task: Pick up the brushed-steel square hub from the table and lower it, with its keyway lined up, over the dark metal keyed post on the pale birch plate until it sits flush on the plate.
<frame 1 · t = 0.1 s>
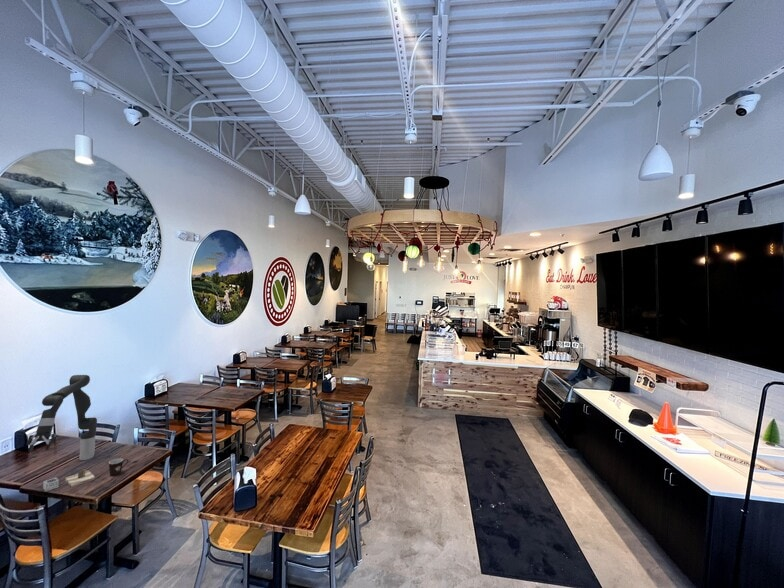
hand: (38, 451, 221), 31 cm above the table, tool tilted 20°, fingers open, 8 cm apart
coffee mug: (118, 473, 252), on the table
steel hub: (50, 487, 231), on the table
post plate: (80, 479, 243), on the table
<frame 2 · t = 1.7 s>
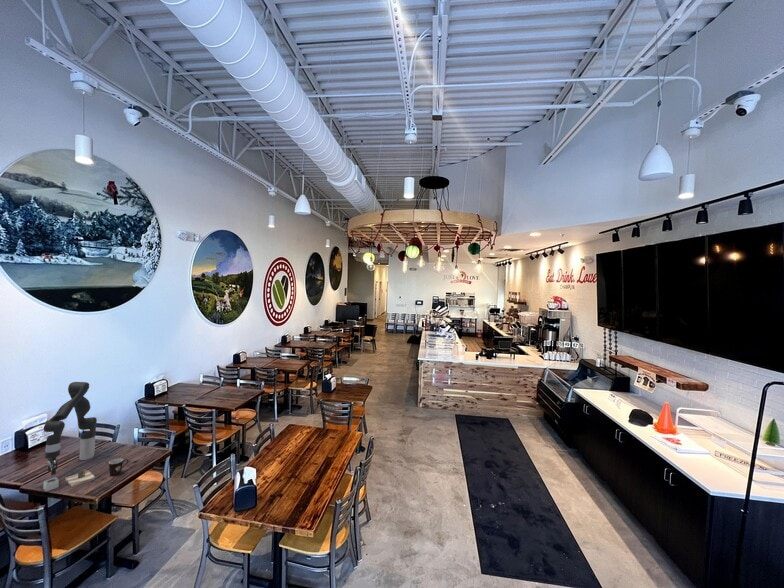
hand: (51, 472, 231), 11 cm above the table, tool pointing down, fingers open, 8 cm apart
nothing on the table moved.
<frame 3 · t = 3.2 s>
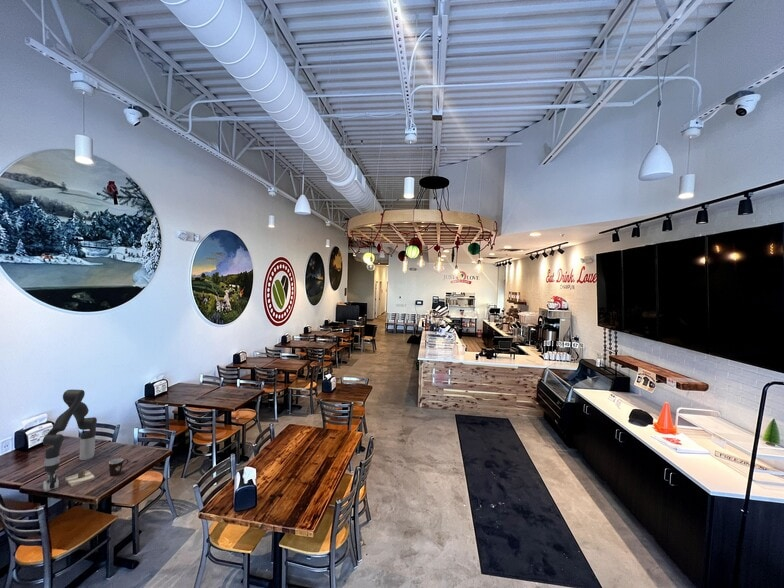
hand: (50, 486, 231), 1 cm above the table, tool pointing down, fingers closed on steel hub, 6 cm apart
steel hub: (50, 487, 231), on the table, touching gripper
everything else where it was.
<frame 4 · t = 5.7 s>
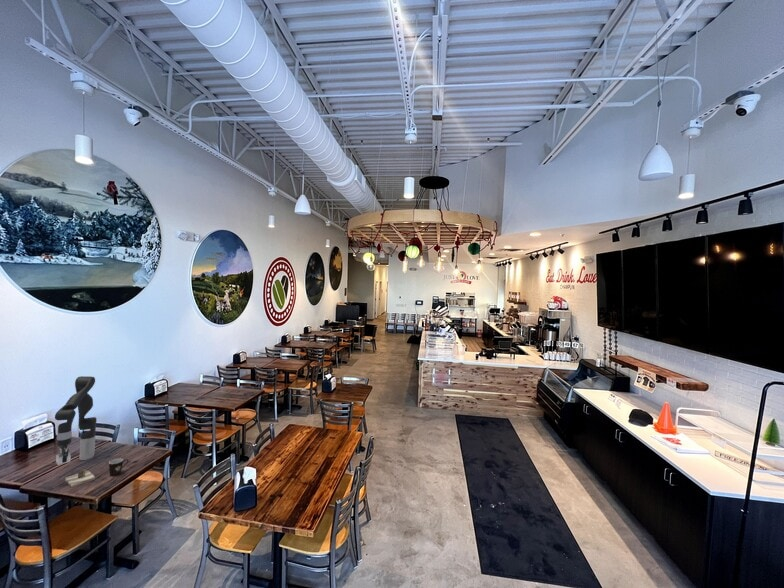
hand: (63, 460, 236), 17 cm above the table, tool pointing down, fingers closed on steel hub, 6 cm apart
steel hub: (63, 461, 236), point 16 cm above the table, touching gripper
everything else where it was.
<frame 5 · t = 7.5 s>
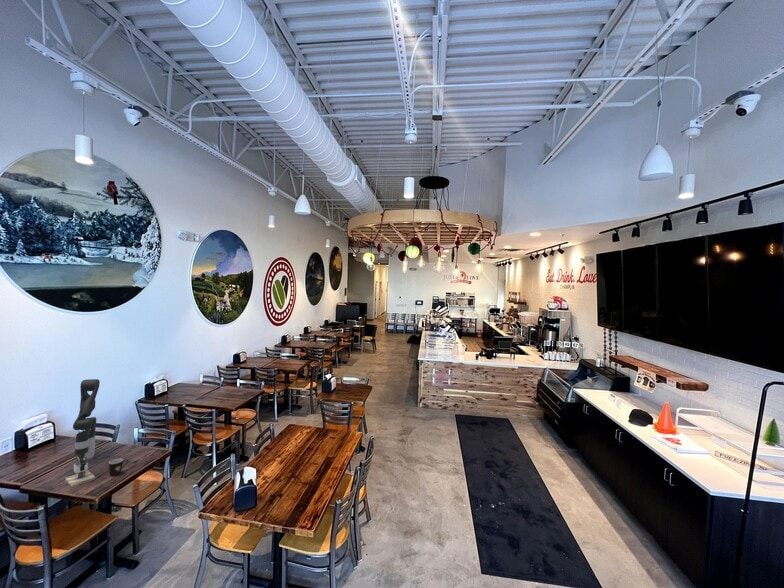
hand: (80, 469, 243), 8 cm above the table, tool pointing down, fingers closed on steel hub, 6 cm apart
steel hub: (80, 470, 243), point 7 cm above the table, touching gripper
everything else where it was.
when the fingers open (4 cm above the table, at t = 8.7 s): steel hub drops 2 cm, resting on post plate.
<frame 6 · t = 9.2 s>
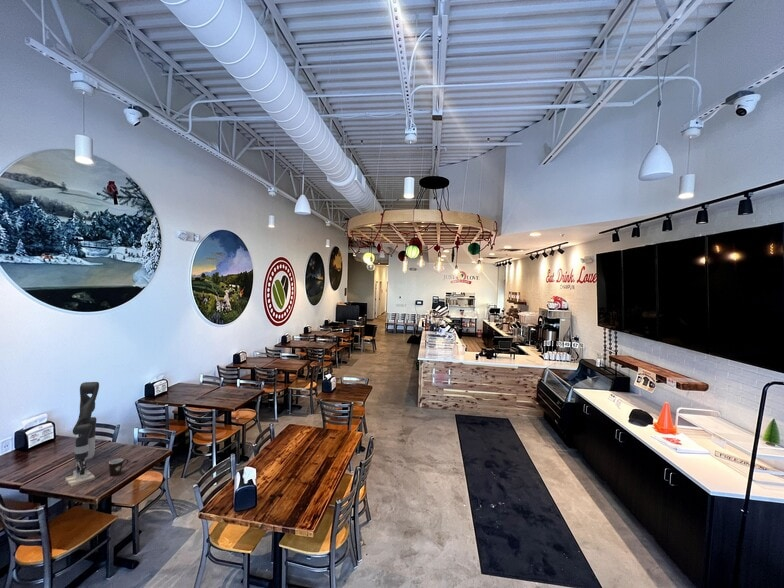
hand: (80, 472, 243), 5 cm above the table, tool pointing down, fingers open, 8 cm apart
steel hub: (80, 477, 243), point 1 cm above the table, touching post plate
everything else where it was.
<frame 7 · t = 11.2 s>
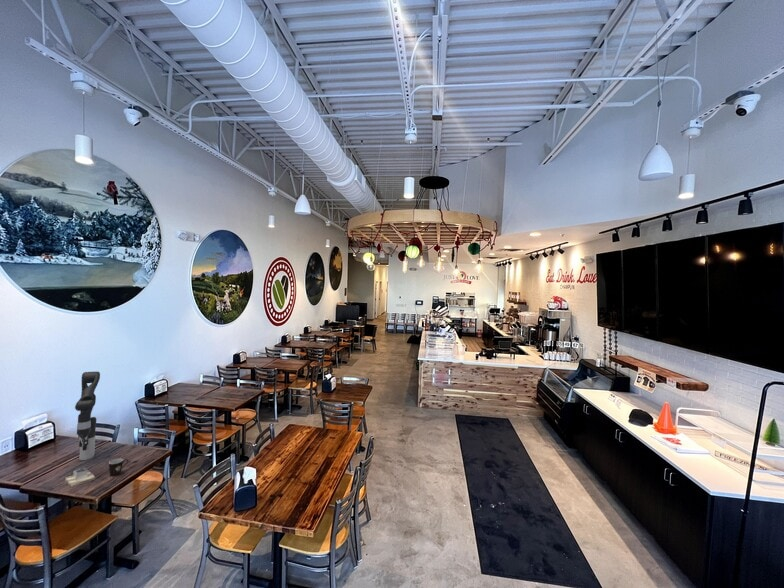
hand: (82, 448, 246), 22 cm above the table, tool pointing down, fingers open, 8 cm apart
nothing on the table moved.
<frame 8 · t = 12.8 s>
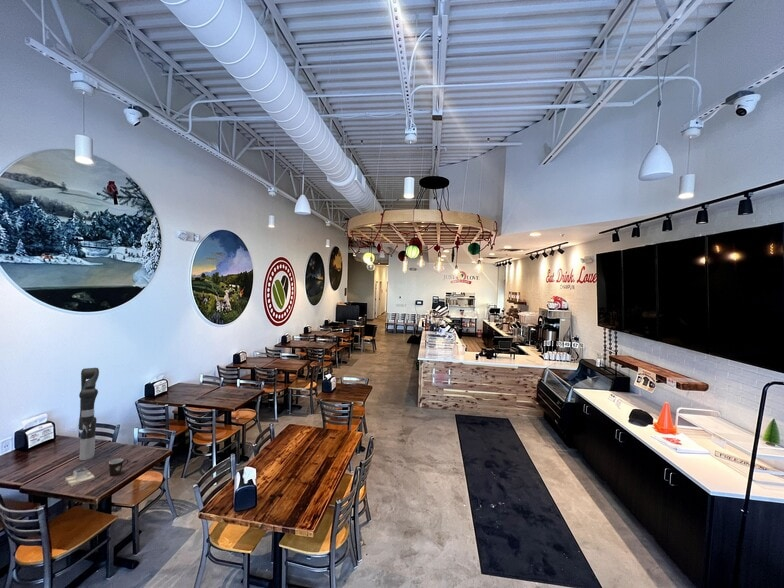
hand: (86, 435, 253), 28 cm above the table, tool pointing down, fingers open, 8 cm apart
nothing on the table moved.
at the end: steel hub 0.1 cm from the post plate (horizontally); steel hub point 1.5 cm above the table; the gripper is holding nothing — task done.
